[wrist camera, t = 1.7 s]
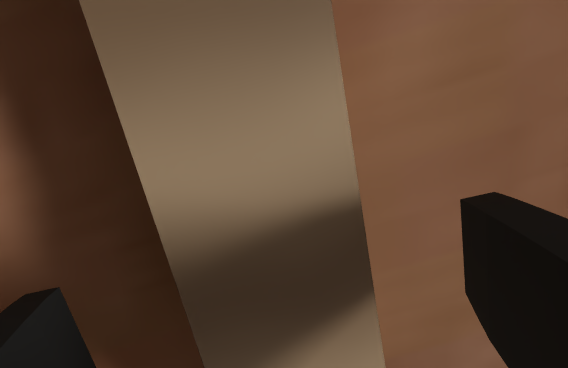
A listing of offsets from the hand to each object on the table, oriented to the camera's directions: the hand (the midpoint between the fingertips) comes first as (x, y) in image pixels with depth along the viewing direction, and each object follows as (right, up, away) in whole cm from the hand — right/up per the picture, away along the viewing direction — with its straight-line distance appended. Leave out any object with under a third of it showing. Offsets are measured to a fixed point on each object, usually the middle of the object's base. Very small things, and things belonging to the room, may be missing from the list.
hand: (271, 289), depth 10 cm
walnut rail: (-1, +3, +5) cm, 5 cm away
